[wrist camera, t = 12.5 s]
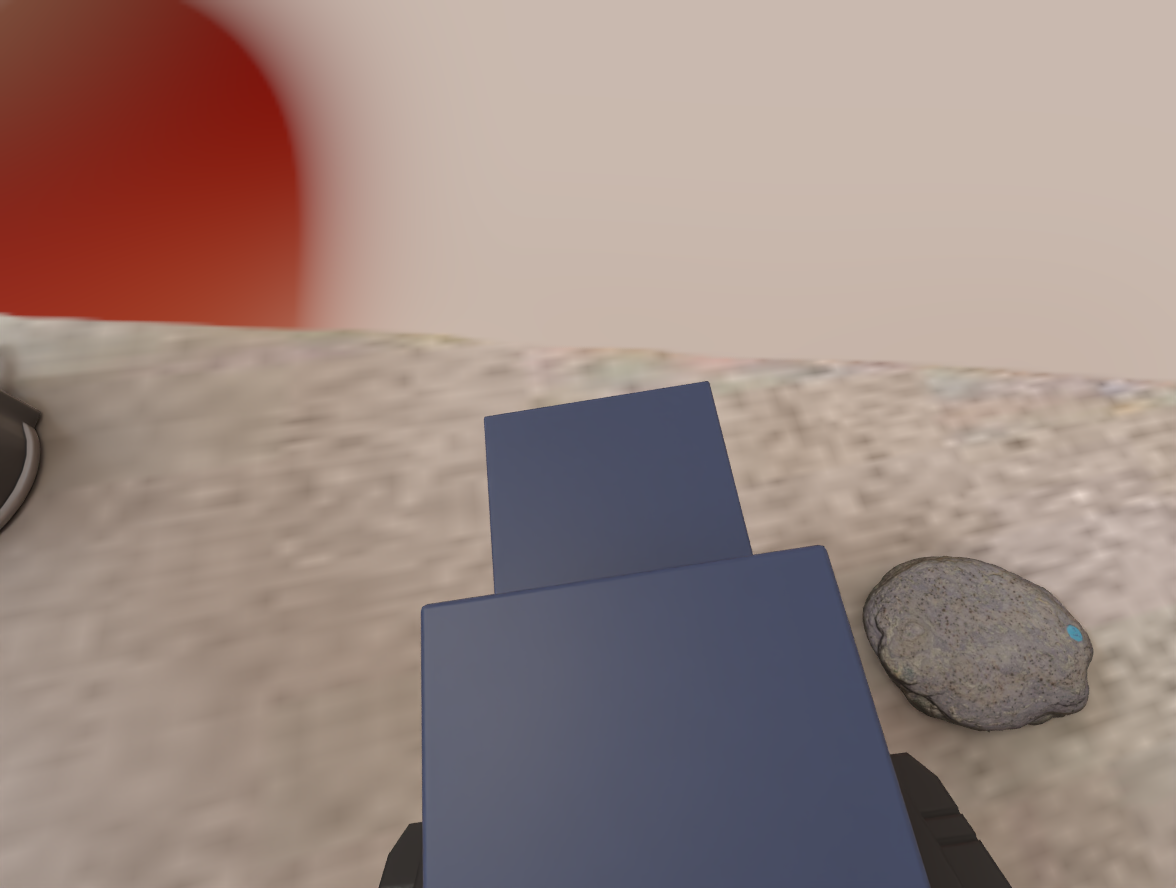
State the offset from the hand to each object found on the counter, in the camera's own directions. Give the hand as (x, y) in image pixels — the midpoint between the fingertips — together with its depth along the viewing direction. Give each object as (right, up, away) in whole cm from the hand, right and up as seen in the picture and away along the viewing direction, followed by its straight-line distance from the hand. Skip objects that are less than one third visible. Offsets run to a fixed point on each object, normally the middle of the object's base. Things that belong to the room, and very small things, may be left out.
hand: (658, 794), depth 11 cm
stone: (+14, -2, +16) cm, 21 cm away
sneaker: (0, -1, +5) cm, 5 cm away
